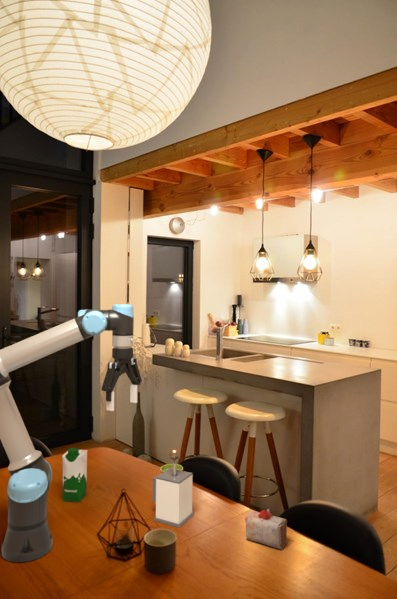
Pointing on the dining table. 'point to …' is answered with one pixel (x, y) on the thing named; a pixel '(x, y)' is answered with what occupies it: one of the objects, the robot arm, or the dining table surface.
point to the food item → (266, 529)
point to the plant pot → (168, 466)
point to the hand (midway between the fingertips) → (122, 406)
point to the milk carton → (74, 475)
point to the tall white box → (173, 497)
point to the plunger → (174, 457)
